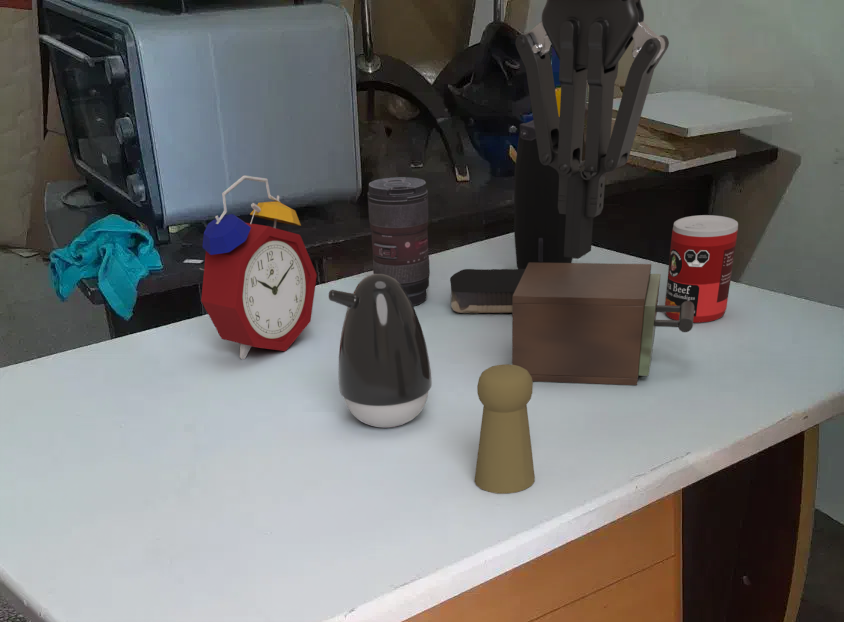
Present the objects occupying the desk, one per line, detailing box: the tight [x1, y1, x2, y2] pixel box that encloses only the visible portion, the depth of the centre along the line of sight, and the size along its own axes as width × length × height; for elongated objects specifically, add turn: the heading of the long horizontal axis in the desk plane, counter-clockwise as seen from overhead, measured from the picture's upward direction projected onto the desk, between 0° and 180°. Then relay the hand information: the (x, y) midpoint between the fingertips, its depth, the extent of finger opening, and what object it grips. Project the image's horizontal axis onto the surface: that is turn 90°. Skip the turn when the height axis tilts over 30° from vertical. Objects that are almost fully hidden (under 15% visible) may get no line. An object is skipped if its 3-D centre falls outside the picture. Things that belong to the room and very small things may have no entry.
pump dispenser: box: [328, 274, 433, 429], centre depth 108 cm, size 10×10×15 cm
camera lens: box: [367, 176, 431, 307], centre depth 139 cm, size 8×8×15 cm
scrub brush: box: [449, 268, 525, 314], centre depth 139 cm, size 16×8×4 cm, turn 80°
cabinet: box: [511, 262, 652, 386], centre depth 120 cm, size 15×13×10 cm
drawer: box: [638, 273, 694, 377], centre depth 119 cm, size 18×11×8 cm, turn 77°
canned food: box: [664, 214, 739, 324], centre depth 130 cm, size 8×8×11 cm
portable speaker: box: [513, 116, 581, 269], centre depth 143 cm, size 9×9×20 cm
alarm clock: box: [198, 174, 318, 361], centre depth 126 cm, size 15×9×20 cm, turn 143°
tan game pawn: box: [473, 363, 536, 494], centre depth 97 cm, size 6×6×11 cm
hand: (577, 253), depth 94 cm, fingers closed
